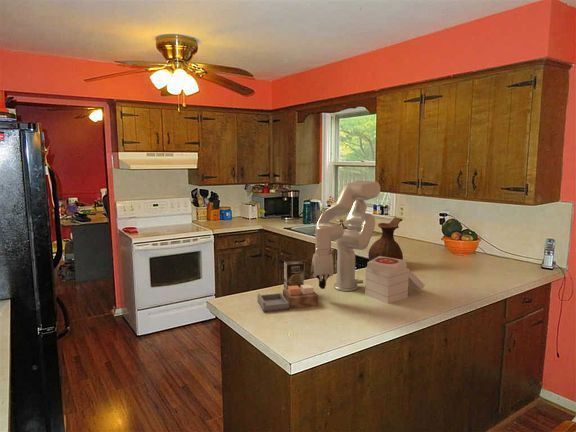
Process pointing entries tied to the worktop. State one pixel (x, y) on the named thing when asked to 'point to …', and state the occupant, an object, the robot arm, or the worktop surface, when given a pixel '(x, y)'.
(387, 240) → the jug
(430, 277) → the worktop surface
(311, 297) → the wooden square board
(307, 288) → the tile
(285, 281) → the coffee box
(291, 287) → the tile
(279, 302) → the box
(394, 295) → the pizza boxes
